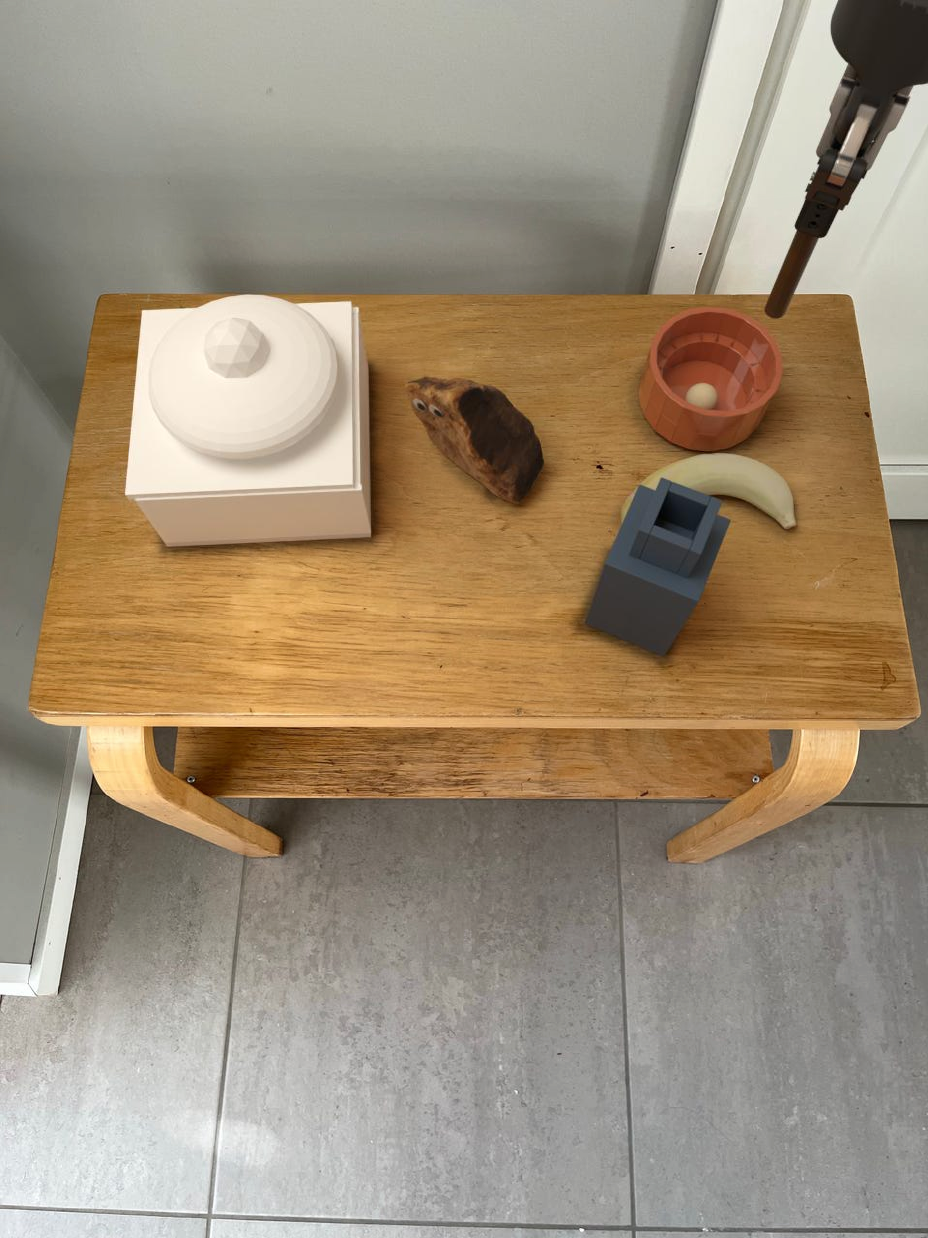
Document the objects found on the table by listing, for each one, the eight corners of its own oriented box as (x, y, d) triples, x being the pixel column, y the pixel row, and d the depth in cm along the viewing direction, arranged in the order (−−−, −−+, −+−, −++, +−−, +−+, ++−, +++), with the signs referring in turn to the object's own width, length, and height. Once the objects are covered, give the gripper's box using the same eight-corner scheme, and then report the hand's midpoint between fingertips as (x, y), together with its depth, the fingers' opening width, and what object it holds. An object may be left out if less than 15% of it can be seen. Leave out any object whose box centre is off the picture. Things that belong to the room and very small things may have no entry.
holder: (692, 585, 77) (747, 491, 62) (663, 657, 74) (713, 578, 59) (614, 553, 78) (650, 454, 63) (583, 623, 75) (613, 538, 60)
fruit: (607, 475, 80) (612, 456, 77) (775, 458, 81) (787, 438, 78) (621, 549, 78) (627, 532, 75) (794, 531, 78) (808, 513, 75)
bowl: (777, 375, 84) (799, 333, 78) (738, 472, 80) (759, 435, 75) (662, 334, 86) (676, 289, 80) (619, 427, 82) (631, 387, 77)
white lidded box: (371, 536, 78) (349, 435, 63) (160, 547, 78) (88, 447, 63) (369, 366, 85) (348, 237, 70) (173, 374, 84) (111, 247, 69)
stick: (787, 305, 70) (856, 151, 57) (782, 321, 70) (850, 169, 57) (766, 299, 70) (830, 145, 57) (761, 315, 70) (825, 163, 57)
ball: (686, 413, 83) (718, 416, 82) (680, 414, 81) (712, 417, 79) (690, 381, 82) (722, 383, 81) (684, 381, 80) (717, 384, 79)
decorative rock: (405, 445, 81) (396, 371, 71) (447, 400, 83) (444, 322, 73) (512, 520, 79) (518, 454, 69) (553, 471, 80) (566, 400, 70)
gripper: (981, 62, 43) (840, 312, 59) (1042, -110, 47) (895, 166, 63) (825, 16, 44) (728, 274, 60) (899, -148, 48) (791, 133, 64)
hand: (814, 218), depth 62 cm, fingers closed on stick, 1 cm apart
